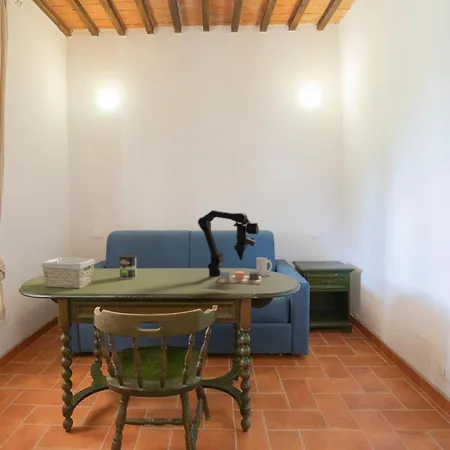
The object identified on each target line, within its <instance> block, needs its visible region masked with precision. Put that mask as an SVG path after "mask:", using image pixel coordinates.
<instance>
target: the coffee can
mask: <svg viewBox="0 0 450 450" xmlns="http://www.w3.org/2000/svg"><path fill="white" fill-rule="evenodd" d="M136 278H137V254H132V253H130V254H129V253H128V254H127V253H126V254H120V255H119V279H120V280H132V279H136Z"/></svg>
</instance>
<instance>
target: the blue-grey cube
mask: <svg viewBox="0 0 450 450" xmlns="http://www.w3.org/2000/svg"><path fill="white" fill-rule="evenodd" d="M230 275H231V270H221V278H223V279H230Z"/></svg>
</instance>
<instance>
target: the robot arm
mask: <svg viewBox="0 0 450 450" xmlns="http://www.w3.org/2000/svg"><path fill="white" fill-rule="evenodd" d="M215 218H219V219H226V220H231V221H233V222H235V223H234V224H233V227H236V235H235V237H236V242H235V245H234V247H233V250H235V251H236V254H237V256H238V258H239V261H242V260H243V257H244V254H245V253H244V252H245V250H246V249H247V246H251V247H255V243H256V240H255V238H254V237H248V235H259V232H260V228H259V225H258V223H257V222H251V221H250V220H249V218H248V216H247V214H246V213H245V212H238V213H236V212H235V213H234V212H233V213H232V212H227V211H218V210H210V212H208V213H207V214H205V215H204V216H202V217H200V218H199V219H198V220H197V224H198V226H199V228H200V229H201V231H202V232H203V234H204V236H205V240H206V243H207V246H208V249H209V252H210V263H208V265H207V268H208V275H209V277H220V275H221V272H222V270H221V266H222V265H223V263H224V261H225V260H224V259H225V258H224V255H223V253H222V252H219V250H218V248H217V244H216V241H215V239H214V236H213V232H212V221H214V219H215ZM247 234H248V235H247Z"/></svg>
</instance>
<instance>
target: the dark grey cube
mask: <svg viewBox="0 0 450 450" xmlns="http://www.w3.org/2000/svg"><path fill="white" fill-rule="evenodd" d="M249 276H250V279H249V280H259V272H257V271H250V272H249Z"/></svg>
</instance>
